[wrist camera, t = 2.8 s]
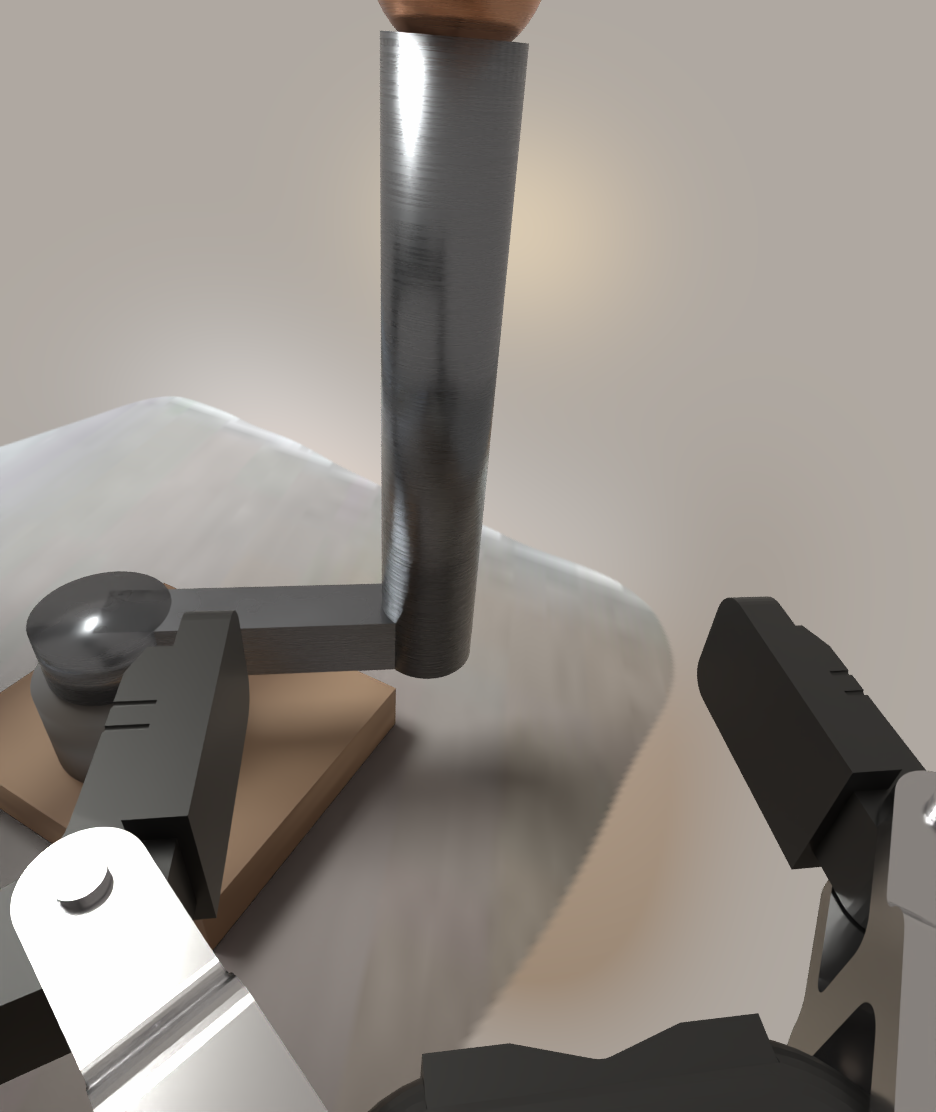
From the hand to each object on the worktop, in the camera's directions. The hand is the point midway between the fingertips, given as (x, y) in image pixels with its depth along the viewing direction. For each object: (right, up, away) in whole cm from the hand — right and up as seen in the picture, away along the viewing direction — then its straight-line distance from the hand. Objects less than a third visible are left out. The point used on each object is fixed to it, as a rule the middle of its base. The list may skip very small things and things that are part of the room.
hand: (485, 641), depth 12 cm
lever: (-7, -2, +12) cm, 14 cm away
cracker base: (-11, -6, +15) cm, 19 cm away
